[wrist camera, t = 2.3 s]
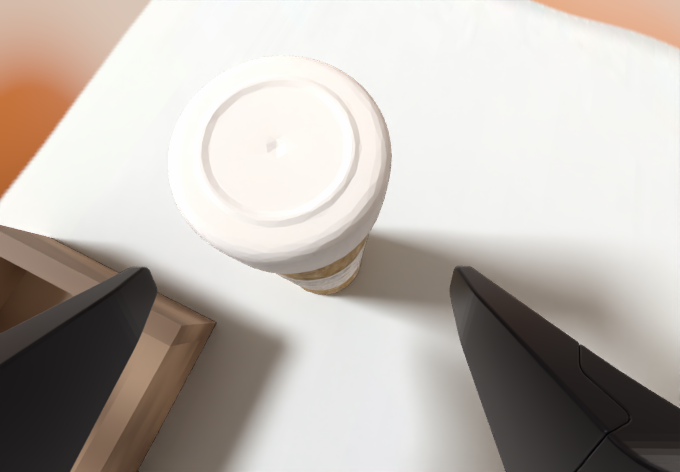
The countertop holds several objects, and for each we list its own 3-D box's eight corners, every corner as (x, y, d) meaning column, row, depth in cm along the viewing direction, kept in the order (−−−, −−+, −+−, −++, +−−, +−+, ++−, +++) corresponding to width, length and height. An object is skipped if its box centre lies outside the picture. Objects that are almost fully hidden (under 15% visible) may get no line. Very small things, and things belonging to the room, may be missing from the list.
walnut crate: (97, 546, 16) (17, 621, 12) (-84, 432, 18) (-207, 467, 14) (216, 322, 19) (181, 325, 15) (49, 237, 20) (-24, 219, 16)
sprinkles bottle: (301, 211, 20) (215, 21, 7) (372, 234, 20) (423, 77, 6) (275, 282, 19) (115, 217, 6) (348, 307, 19) (352, 298, 5)
